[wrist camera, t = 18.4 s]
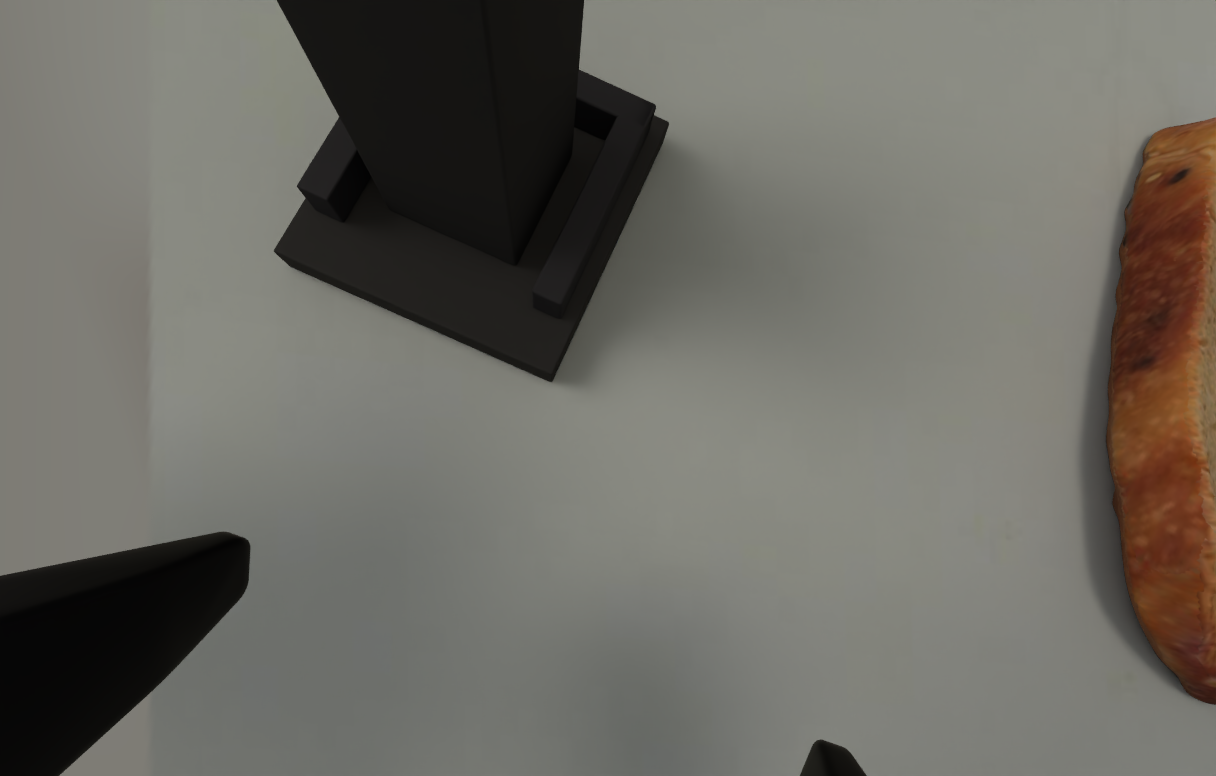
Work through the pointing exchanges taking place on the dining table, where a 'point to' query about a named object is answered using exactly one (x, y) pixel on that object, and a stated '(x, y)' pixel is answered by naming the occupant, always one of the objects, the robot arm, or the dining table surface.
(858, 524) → the dining table surface
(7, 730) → the robot arm
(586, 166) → the dock pad
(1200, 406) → the slice of bread
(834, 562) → the dining table surface
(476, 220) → the pad block
